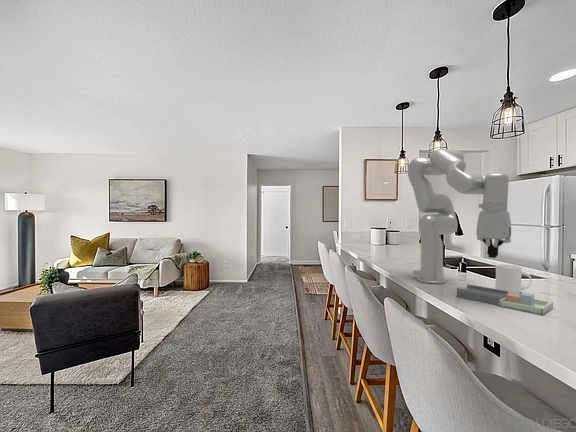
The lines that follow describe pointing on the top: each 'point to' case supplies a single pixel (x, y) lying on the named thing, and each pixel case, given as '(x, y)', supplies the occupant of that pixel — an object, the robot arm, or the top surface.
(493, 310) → the top surface
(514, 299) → the tan small block
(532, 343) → the top surface
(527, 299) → the tile front
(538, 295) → the top surface
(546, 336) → the top surface
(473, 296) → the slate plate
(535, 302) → the tray
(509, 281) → the mug
